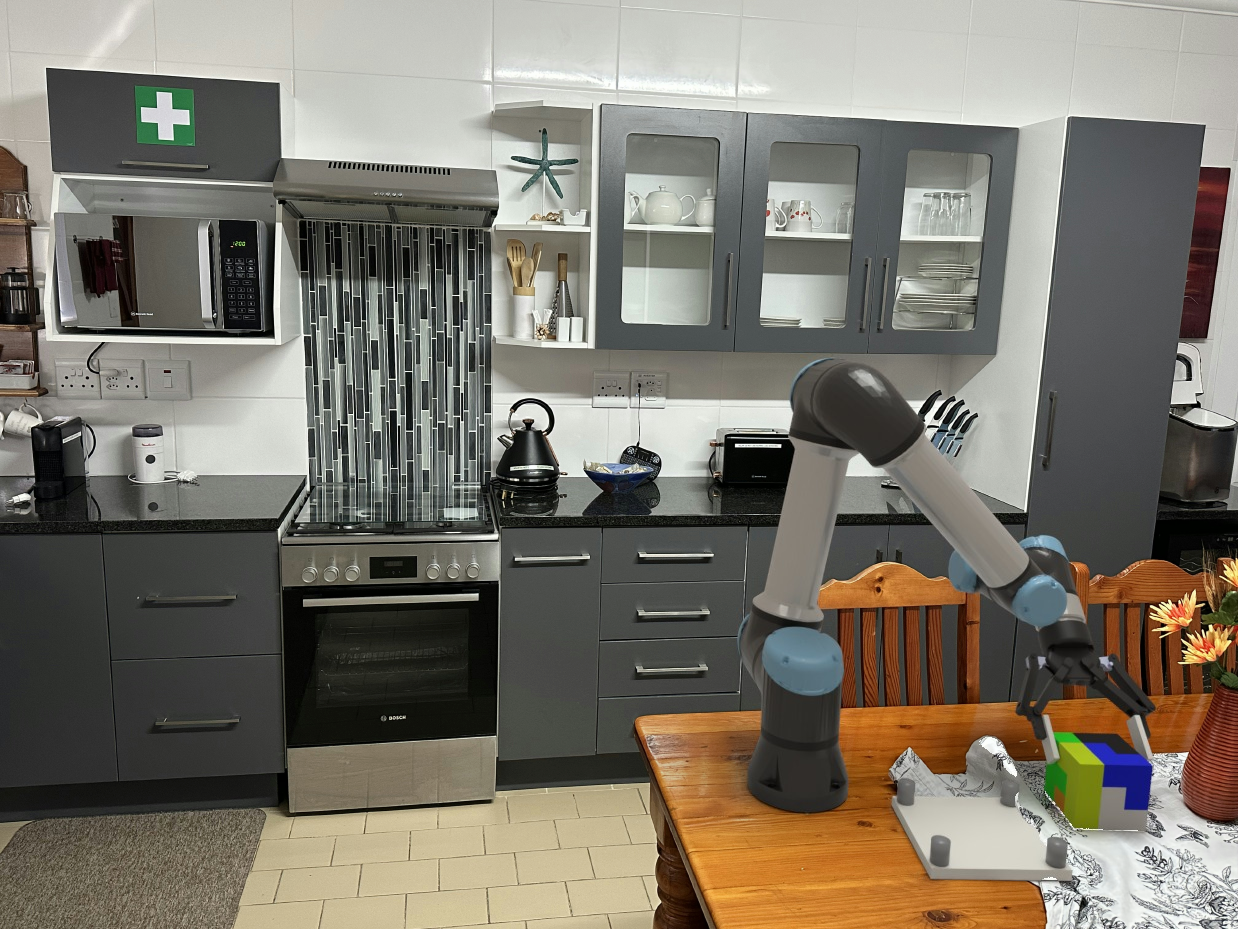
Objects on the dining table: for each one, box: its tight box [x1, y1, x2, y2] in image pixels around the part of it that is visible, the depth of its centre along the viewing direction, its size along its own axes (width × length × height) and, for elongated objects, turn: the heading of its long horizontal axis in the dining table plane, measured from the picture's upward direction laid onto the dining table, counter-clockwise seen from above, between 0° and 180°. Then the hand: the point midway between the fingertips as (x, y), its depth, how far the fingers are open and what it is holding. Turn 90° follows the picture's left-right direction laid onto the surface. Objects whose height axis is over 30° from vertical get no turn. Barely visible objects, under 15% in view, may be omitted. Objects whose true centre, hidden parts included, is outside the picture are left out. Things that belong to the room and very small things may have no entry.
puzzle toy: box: [1043, 731, 1154, 833], centre depth 137 cm, size 10×10×10 cm
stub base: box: [891, 777, 1073, 882], centre depth 130 cm, size 18×18×4 cm
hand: (1100, 761), depth 138 cm, fingers open, 13 cm apart
